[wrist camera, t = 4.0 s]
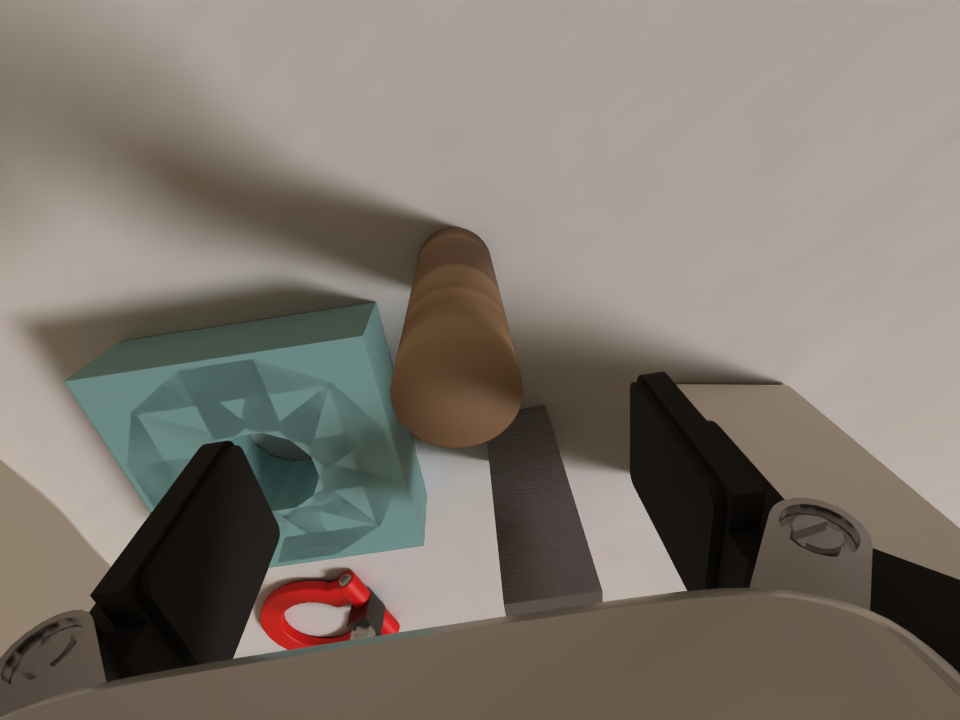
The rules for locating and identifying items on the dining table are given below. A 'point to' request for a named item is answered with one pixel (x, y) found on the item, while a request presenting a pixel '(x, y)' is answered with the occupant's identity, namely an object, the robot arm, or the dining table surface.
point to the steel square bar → (538, 521)
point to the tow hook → (364, 614)
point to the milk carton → (828, 469)
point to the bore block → (271, 423)
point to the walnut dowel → (455, 347)
